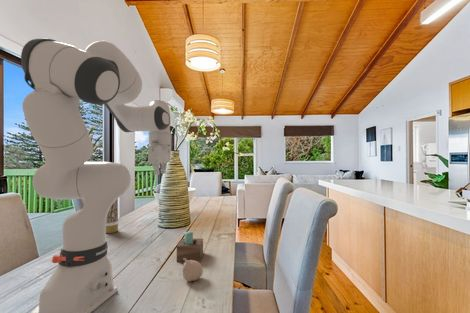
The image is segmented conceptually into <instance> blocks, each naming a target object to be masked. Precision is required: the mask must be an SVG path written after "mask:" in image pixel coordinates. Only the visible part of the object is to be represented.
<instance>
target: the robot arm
mask: <svg viewBox="0 0 470 313" xmlns="http://www.w3.org/2000/svg"><path fill="white" fill-rule="evenodd" d="M20 62H21V67H22V70H23V73H24V81H25V82H26V84H27V85H28V86H29V87H30V88H31V89H33V91H32V92H30V93H28V94H27V95H26V96H25V97H24V99H23V101H22V105H21V106H22V112H23V115H24V118H25V121H26V124H27V126H28V128H29V131H30V133H31V136H32V137H33V139H34V141H35V143H36V144H37V146H38V147H39V149H40V151H41V153H42V155H43V158H44V160H45V163H44V164H42V165H41V166H40V167H38V168H37V170H36V171H35V172H34V174H33V176H32V177H33V178H32V187H33V190H34V191H35V193H36V194H37V195H38V197H40V198H45V199H51V200H52V199H53V200H60V201H61V200H64V201H65V200H84V204H83V207H82V208H80V209H78V210H76V211H74V212H73V213H71V214H69V215H68V216H67V217H66V218H65V219H64V221H63V224H62V248H61V249H60V252H59V254H58V255H57V254H55V255H53V256H52V258H51V263H52V264H58V265H57V266H56V268H55V270H54V272H52V274H51V276H50V278H49V279H48V280H47V282H46V283H45V285H44V287H43V288H42V289H41V291H40V294H39V300H38V305H37V306H36V307H35V308H34V309H33V310H32V311H31V312H30V313H92V312H94V311H95V310H96V309H97V308H99V307H100V306H101V305H102V304H103V303H105V302H106V301H107V300H108V299H110V298H111V297H112V296H113V295H115V294H116V293H117V292H118V286H116V285H114V276H113V266H112V262H111V261H110V259H109V258H108V256H107V254H108V249H109V248H108V247H109V246H108V241H107V240H106V236H107V233H106V220H107V215H108V212H109V210H110V208H111V206H112V204H113V203H114V202H115V201H116V200H117V199H119V198H120V197H121V196H123V195H124V194H125V193H126V192H127V191H128V189H129V187H130V185H131V181H132V180H131V172H130V171H129V170H128V168H127V166H126V165H124V164H122V163H118V162H113V161H112V162H111V161H89V160H90V158H91V157H92V156H93V153H94V144H93V142H92V139H91V137H90V134H89V131H88V129H87V125H86V124H85V121H84V118H83V116H82V115H81V114H82V113H80V112H81V111H80V101H83V102H84V103H87V104H92V105H98V106H102V105H104V106H106V109H107V110H108V111H109V112H110V114H111V115H112V117H113V118H114V120H115V123H116V124H117V127H118V128H119V129H120V130H121V131H123V132H125V133H133V132H134V133H135V132H148V148H147V149H148V150H147V152H148V153H147V162H148V164H150V165H151V164H152V169H153V175H154V176H159V175H160V173H161V174H166V173H167V172H166V171H167V164H168V163H170V162H171V158H172V157H171V155H172V146H173V141H172V135H171V111H170V110H171V109H170V105H169V104H168V102H166V101H163V100H152V101H151V102H150V103H149V105H128V104H130V103H131V102H134V101H135V100H136V99H137V98H138V97H139V95H140V94H141V91H142V89H143V81H142V78H141V75H140V73H139V72H138V69H136V67H135V65H134V64H133V63H132V62H131V60H130V59H129V58H128V57H127V55H126V54H125V53H124V52H123V51H122V50H121V49H120V48H119V47H117V46H116V44H113V43H112V42H110V41H107V40H97V41H94V42H92V43H89V45H88V46H87V47H86V48H85V50H83V49H82V48H80V47H77V46H74V45H72V44H67V43H64V42H59V41H57V40H55V39H53V38H52V39H51V38H44V37H42V38H40V37H39V38H34V39H30V40H28V41H27V42H26V43H25V44H24V45H23V48H22V49H21V54H20ZM126 104H127V105H126ZM160 165H161V169H160Z"/></svg>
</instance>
